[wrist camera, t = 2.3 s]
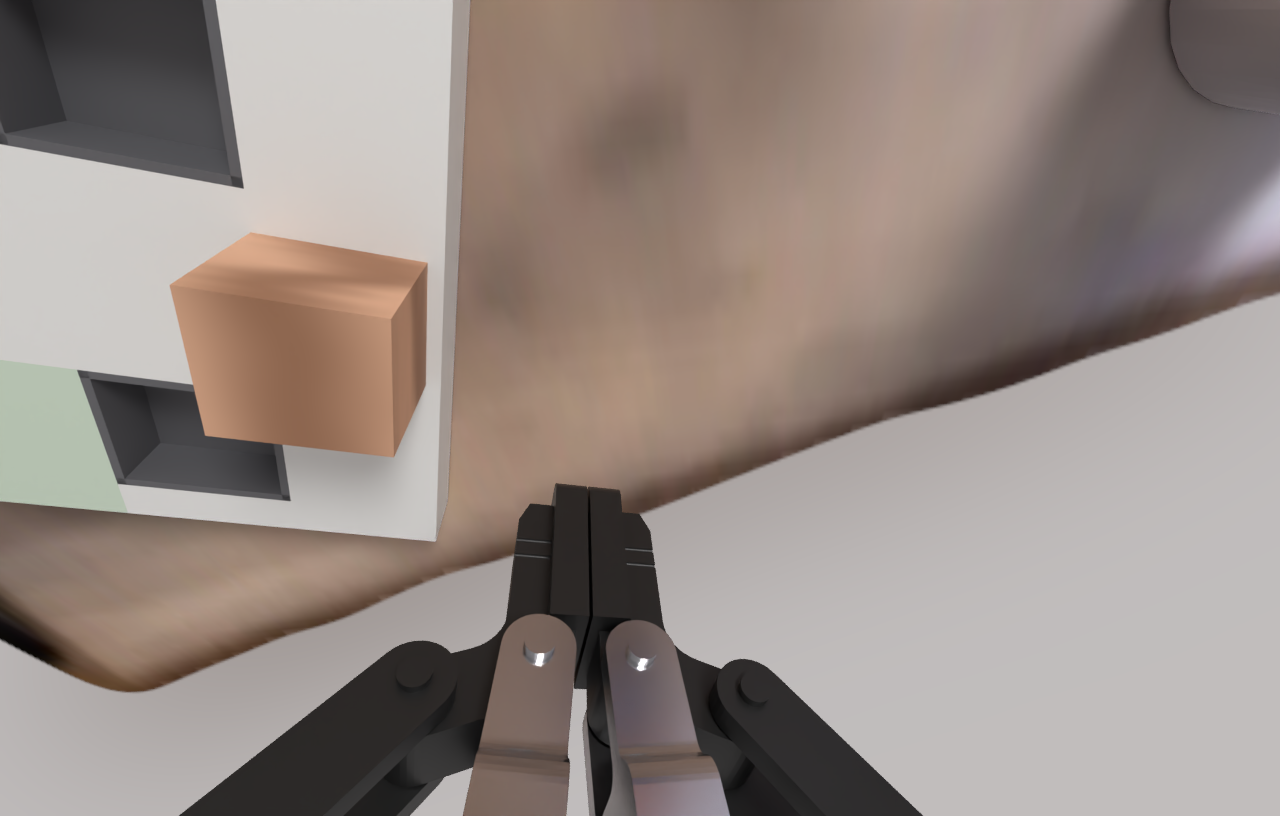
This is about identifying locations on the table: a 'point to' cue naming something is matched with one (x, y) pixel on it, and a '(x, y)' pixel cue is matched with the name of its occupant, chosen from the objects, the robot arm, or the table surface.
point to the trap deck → (214, 238)
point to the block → (305, 344)
